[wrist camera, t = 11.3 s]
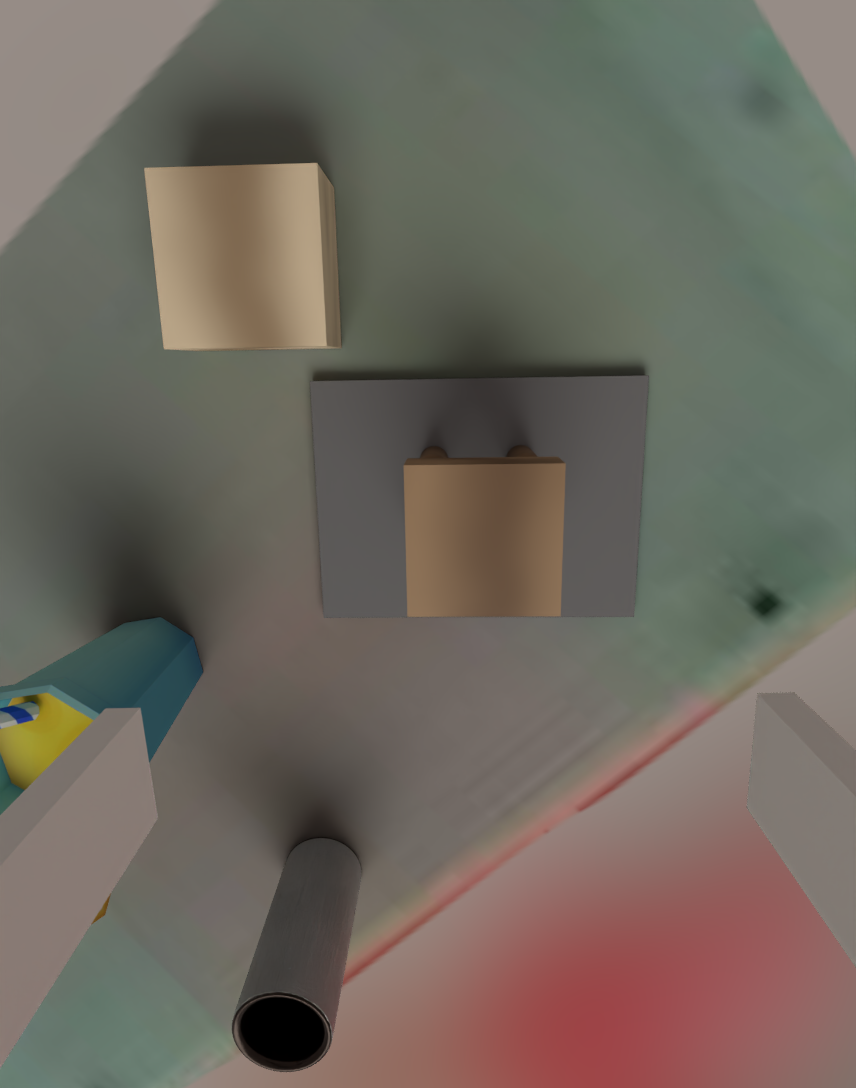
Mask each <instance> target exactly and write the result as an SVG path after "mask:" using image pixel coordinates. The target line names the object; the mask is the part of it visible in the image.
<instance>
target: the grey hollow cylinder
mask: <svg viewBox="0 0 856 1088" xmlns="http://www.w3.org/2000/svg"><path fill="white" fill-rule="evenodd" d="M360 882H361V866H360V863H359V860H358V858H357V857H356V855H355V854H354V853H353V852H352V850H350V849H349V848H348V847H347V846H345V845H344V844H342V843H340V842H338V841H335V840H332V839H326V838H316V839H310V840H307V841H305V842H302V843H301V844H299V845H298V846H296V847H295V848H294V849H293V850H292V851H291V853H290V854H289V856H288V858H287V861H286V863H285V866H284V868H283V871H282V874H281V877H280V880H279V883H278V886H277V889H276V892H275V895H274V898H273V901H272V904H271V907H270V910H269V913H268V916H267V919H266V922H265V924H264V927H263V930H262V933H261V936H260V939H259V942H258V945H257V948H256V951H255V954H254V957H253V960H252V963H251V966H250V969H249V972H248V975H247V978H246V981H245V984H244V986H243V989H242V992H241V995H240V998H239V1001H238V1004H237V1007H236V1010H235V1013H234V1016H233V1020H232V1034H233V1038H234V1041H235V1043H236V1045H237V1047H238V1048H239V1050H240V1051H241V1052H242V1053H243V1055H244V1056H246V1057H247V1058H248V1059H249V1060H250V1061H252V1062H253V1063H255V1064H257V1065H259V1066H261V1067H263V1068H266V1069H269V1070H273V1071H280V1072H293V1071H299V1070H303V1069H306V1068H308V1067H311V1066H312V1065H314V1064H316V1063H317V1062H319V1061H320V1060H321V1059H322V1058H323V1057H324V1056H325V1054H326V1053H327V1052H328V1050H329V1048H330V1045H331V1042H332V1038H333V1032H334V1027H335V1021H336V1016H337V1010H338V1005H339V999H340V994H341V988H342V983H343V977H344V971H345V966H346V960H347V955H348V949H349V944H350V938H351V933H352V927H353V922H354V916H355V910H356V905H357V899H358V894H359V888H360Z"/></svg>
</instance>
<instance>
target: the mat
mask: <svg viewBox="0 0 856 1088" xmlns="http://www.w3.org/2000/svg"><path fill="white" fill-rule="evenodd" d="M648 383H649V376H648V375H639V376H580V377H520V378H460V379H401V380H341V381H310V391H311V408H312V425H313V442H314V459H315V477H316V494H317V511H318V528H319V545H320V562H321V579H322V596H323V613H324V618H389V617H408V616H407V578H406V539H405V501H404V464H405V462H406V460H407V458H420V456H421V453H422V452H423V451H424V450H425V449H426V448H428V447H431V446H437V447H440V448H442V449H443V450H444V451H445V452H446V453H447V456H448V458H476V457H506V456H507V453H508V452H509V450H510V449H511V448H513V447H514V446H517V445H525V446H527V447H529V448H530V449H531V450H532V451H533V452H534V453H535V454H536V455H537V456H538V457H559V458H560V459H561V460H562V461H563V462H565V463H566V469H565V499H564V529H563V559H562V589H561V616H520V617H634V609H635V592H636V576H637V560H638V544H639V528H640V512H641V496H642V479H643V463H644V447H645V431H646V415H647V399H648Z"/></svg>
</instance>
